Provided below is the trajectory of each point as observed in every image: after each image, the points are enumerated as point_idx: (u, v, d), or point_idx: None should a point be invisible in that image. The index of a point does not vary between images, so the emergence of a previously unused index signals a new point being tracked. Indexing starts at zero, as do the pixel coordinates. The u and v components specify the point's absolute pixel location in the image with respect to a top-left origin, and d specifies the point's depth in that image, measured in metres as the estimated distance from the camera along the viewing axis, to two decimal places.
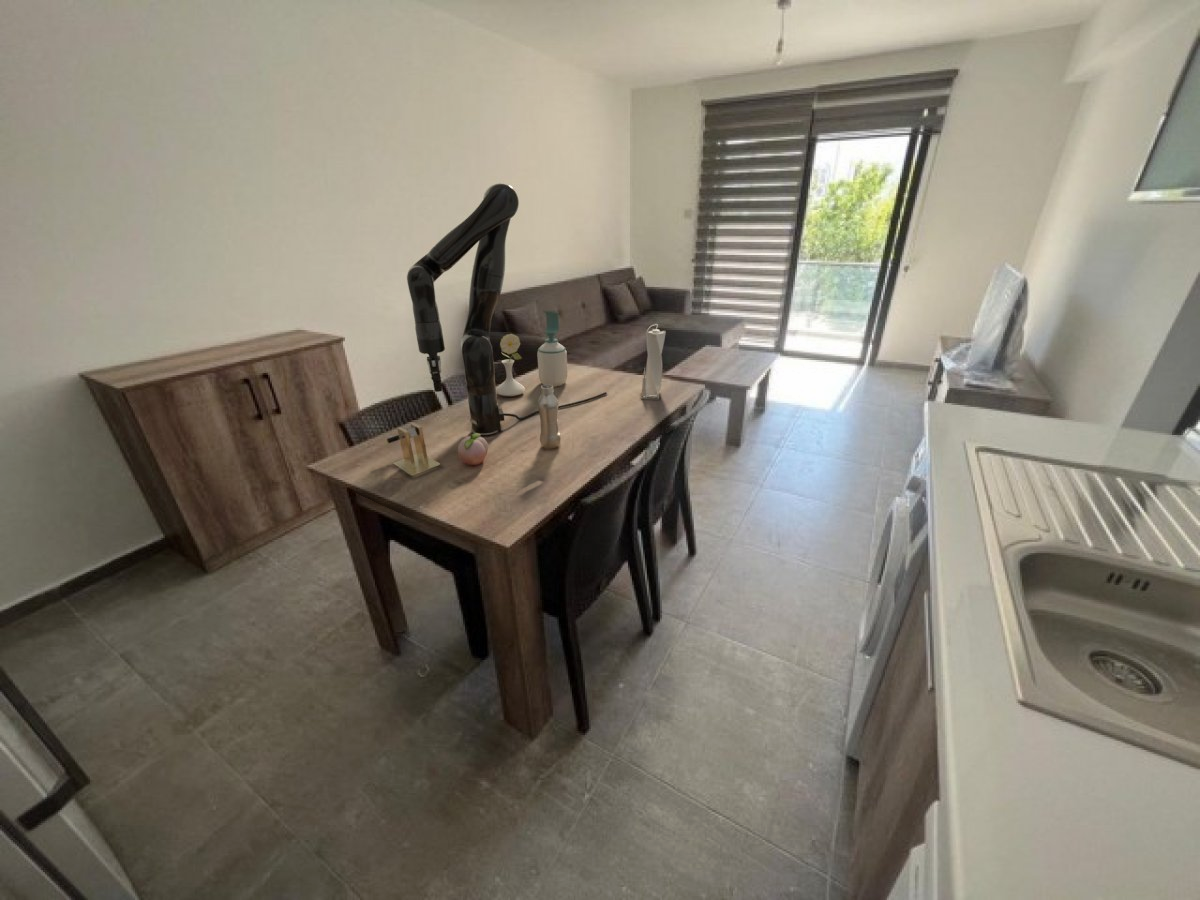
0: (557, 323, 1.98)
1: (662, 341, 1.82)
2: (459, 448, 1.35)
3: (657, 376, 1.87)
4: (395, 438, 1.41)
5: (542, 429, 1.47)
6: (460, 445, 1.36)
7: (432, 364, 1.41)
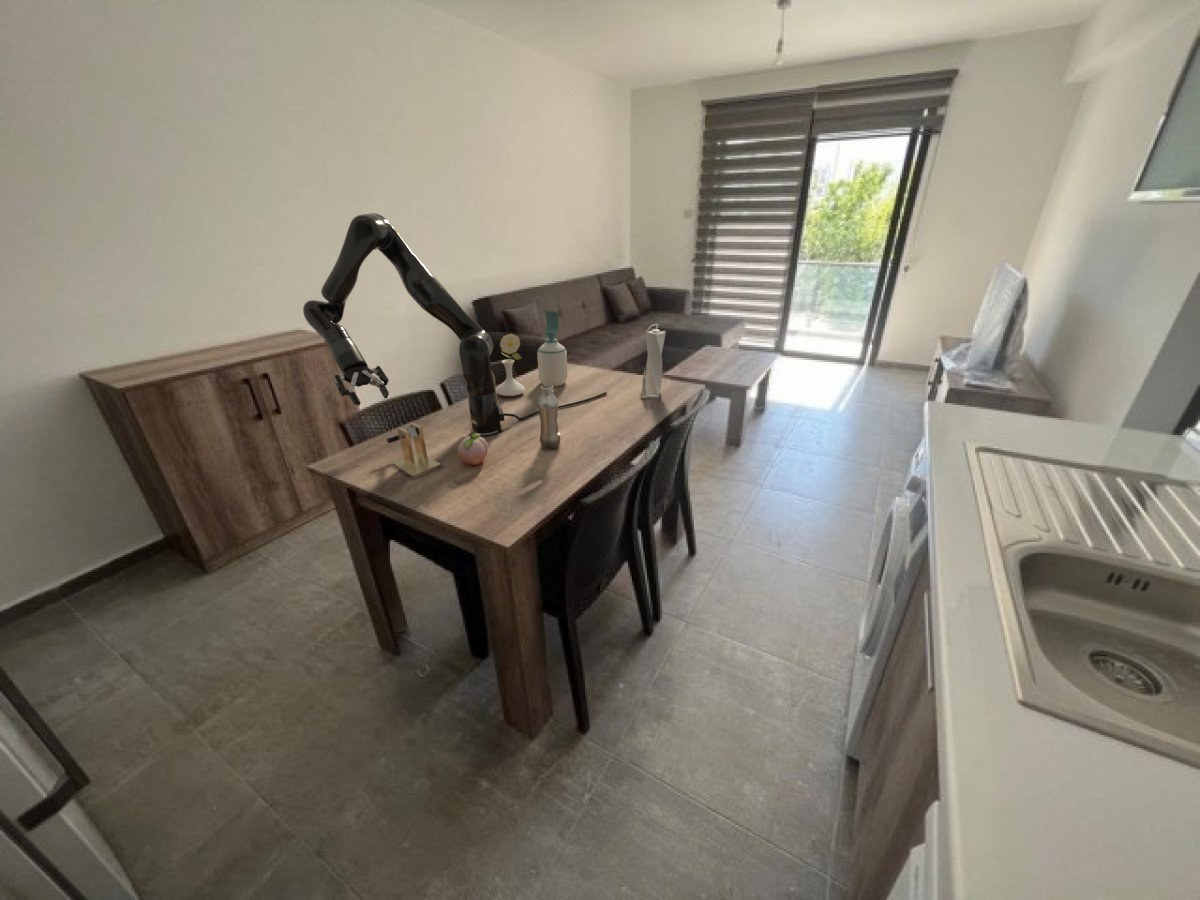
0: (557, 323, 1.98)
1: (662, 341, 1.82)
2: (459, 448, 1.35)
3: (657, 376, 1.87)
4: (395, 438, 1.41)
5: (542, 429, 1.47)
6: (460, 445, 1.36)
7: (335, 381, 1.42)
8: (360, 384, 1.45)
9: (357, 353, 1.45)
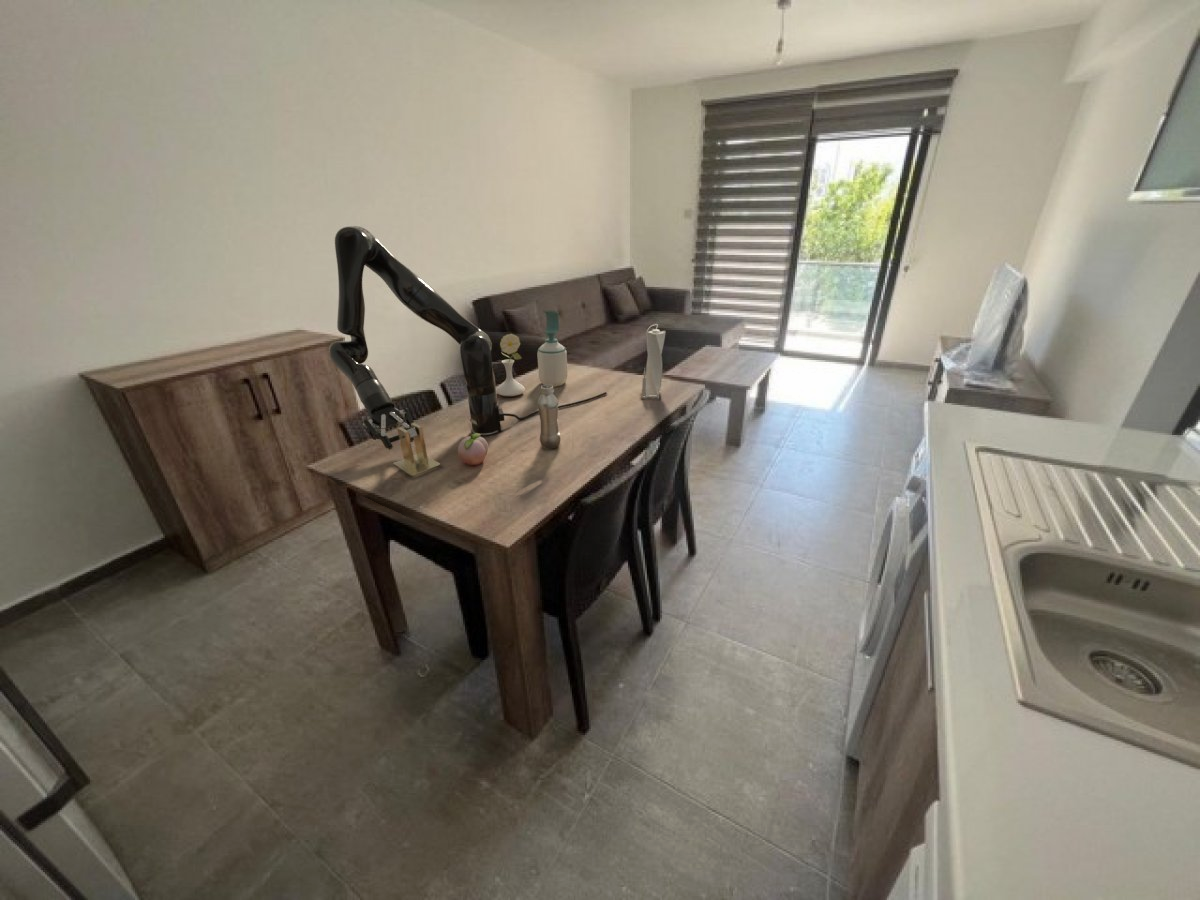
0: (557, 323, 1.98)
1: (662, 341, 1.82)
2: (459, 448, 1.35)
3: (657, 376, 1.87)
4: (395, 438, 1.41)
5: (542, 429, 1.47)
6: (460, 445, 1.36)
7: (364, 426, 1.39)
8: (388, 426, 1.42)
9: (384, 394, 1.42)
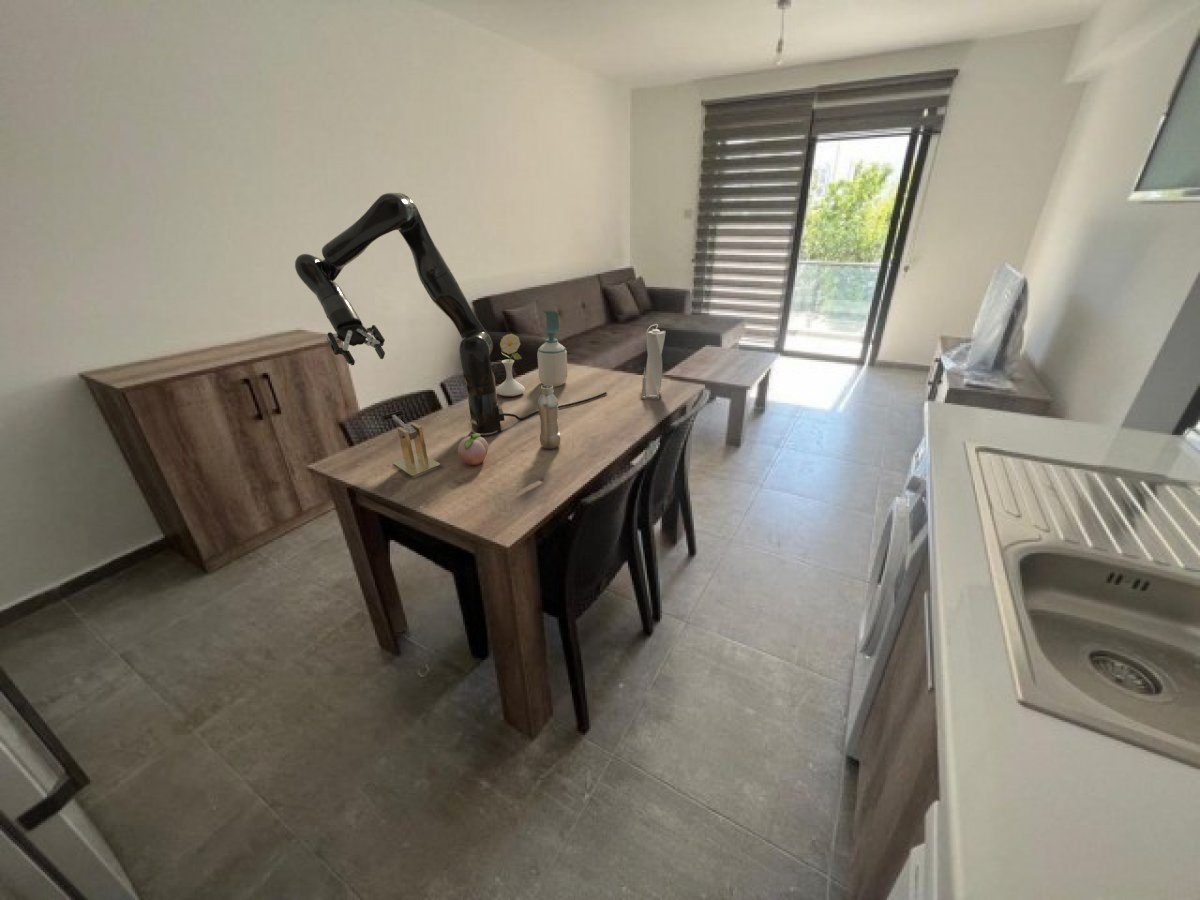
0: (557, 323, 1.98)
1: (662, 341, 1.82)
2: (459, 448, 1.35)
3: (657, 376, 1.87)
4: (390, 417, 1.38)
5: (542, 429, 1.47)
6: (460, 445, 1.36)
7: (328, 339, 1.34)
8: (354, 343, 1.37)
9: (351, 310, 1.38)
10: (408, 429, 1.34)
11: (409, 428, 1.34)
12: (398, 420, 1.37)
